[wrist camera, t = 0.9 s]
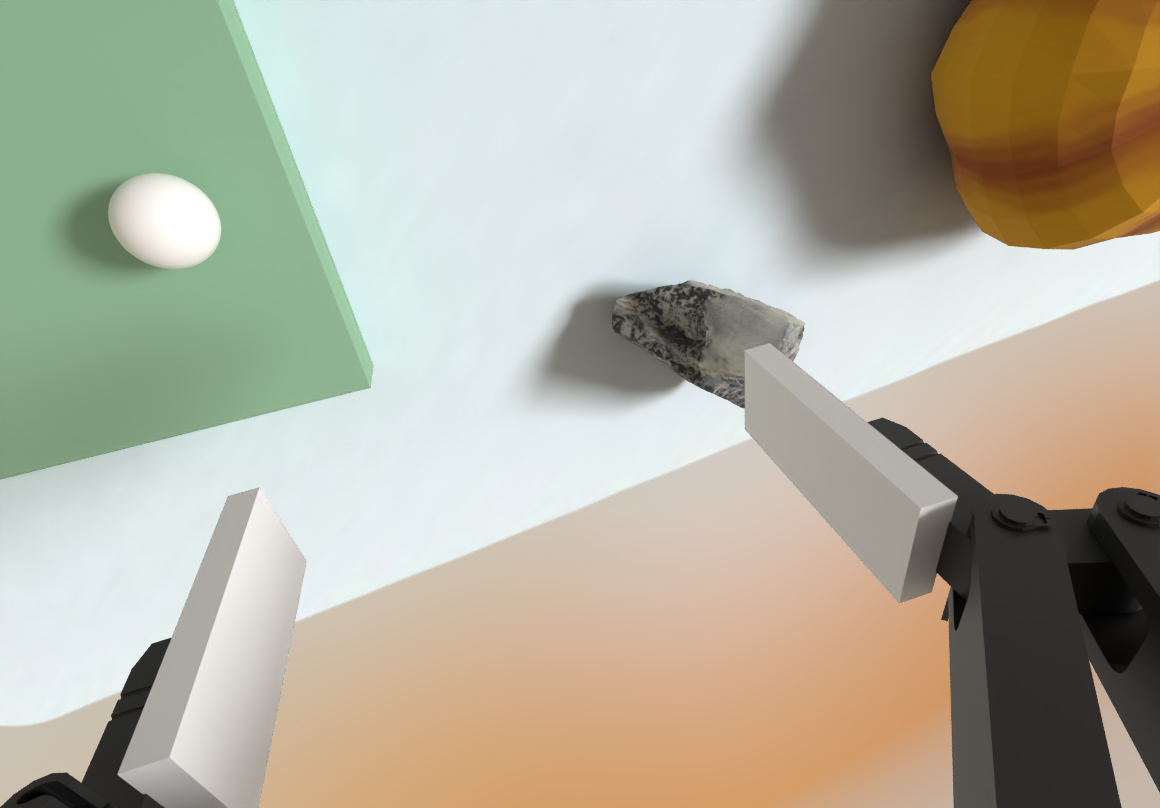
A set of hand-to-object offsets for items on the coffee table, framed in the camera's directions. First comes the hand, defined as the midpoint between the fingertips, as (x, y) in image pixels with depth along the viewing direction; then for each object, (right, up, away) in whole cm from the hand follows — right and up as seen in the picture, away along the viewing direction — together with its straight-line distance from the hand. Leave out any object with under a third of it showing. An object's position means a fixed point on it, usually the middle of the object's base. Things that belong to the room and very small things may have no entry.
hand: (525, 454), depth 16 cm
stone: (+9, +8, +24) cm, 27 cm away
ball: (-16, +9, +9) cm, 21 cm away
